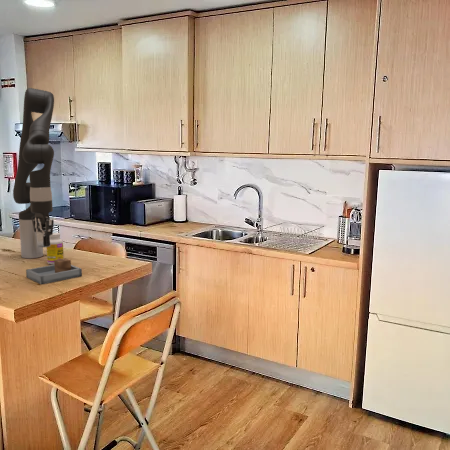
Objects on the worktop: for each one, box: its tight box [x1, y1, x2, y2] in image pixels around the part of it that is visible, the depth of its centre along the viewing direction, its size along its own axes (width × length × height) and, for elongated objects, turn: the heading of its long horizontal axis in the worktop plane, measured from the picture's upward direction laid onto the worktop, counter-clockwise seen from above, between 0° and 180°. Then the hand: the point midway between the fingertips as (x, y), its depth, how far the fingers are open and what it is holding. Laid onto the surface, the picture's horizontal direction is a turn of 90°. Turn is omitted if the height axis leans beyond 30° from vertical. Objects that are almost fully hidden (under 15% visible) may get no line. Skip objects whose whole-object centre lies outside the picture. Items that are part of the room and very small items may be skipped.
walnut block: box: [54, 257, 72, 273], centre depth 184 cm, size 4×4×5 cm
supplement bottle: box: [46, 232, 65, 265], centre depth 202 cm, size 7×7×13 cm
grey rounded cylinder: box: [37, 231, 49, 248], centre depth 177 cm, size 4×4×6 cm
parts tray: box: [25, 264, 83, 285], centre depth 182 cm, size 13×16×3 cm
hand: (43, 244), depth 177 cm, fingers closed on grey rounded cylinder, 4 cm apart
